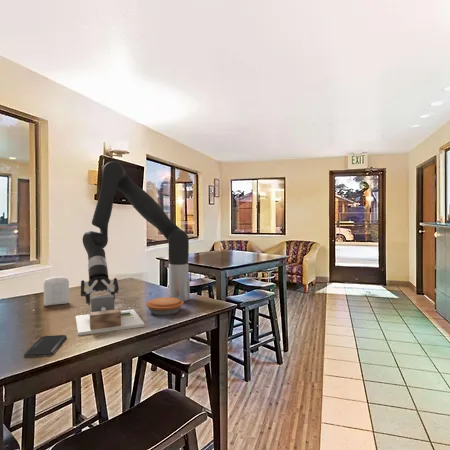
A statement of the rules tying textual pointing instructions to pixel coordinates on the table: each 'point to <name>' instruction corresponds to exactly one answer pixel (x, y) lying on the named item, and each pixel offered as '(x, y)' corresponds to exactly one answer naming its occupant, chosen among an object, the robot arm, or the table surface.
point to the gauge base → (126, 323)
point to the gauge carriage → (103, 303)
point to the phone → (45, 346)
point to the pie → (164, 305)
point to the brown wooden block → (105, 319)
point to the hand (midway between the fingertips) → (101, 302)
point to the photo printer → (56, 291)
